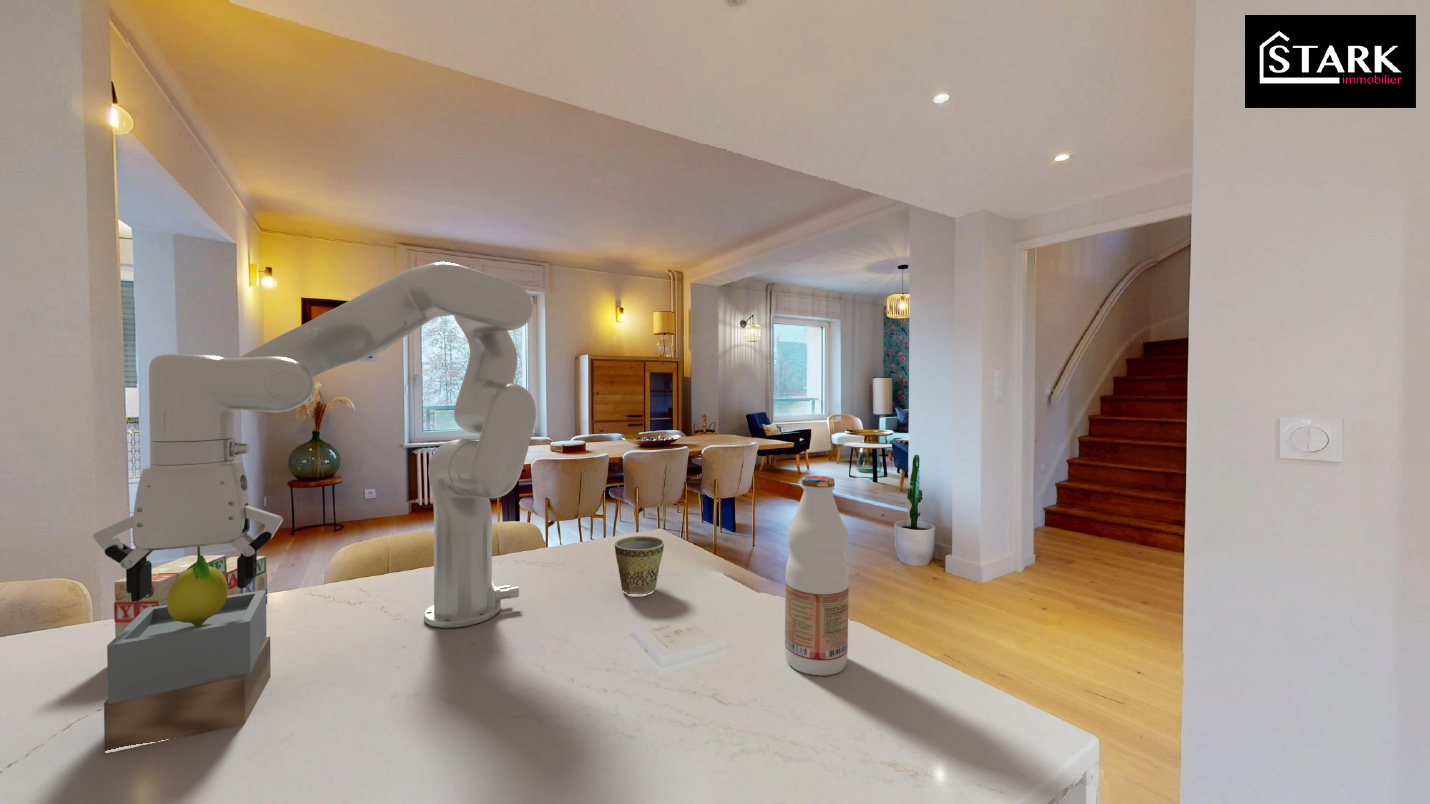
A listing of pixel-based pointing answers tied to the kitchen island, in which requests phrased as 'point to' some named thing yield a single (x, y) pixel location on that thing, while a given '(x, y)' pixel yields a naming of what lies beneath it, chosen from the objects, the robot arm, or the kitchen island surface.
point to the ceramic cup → (639, 563)
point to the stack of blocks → (165, 578)
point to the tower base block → (187, 708)
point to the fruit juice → (817, 583)
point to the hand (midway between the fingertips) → (195, 590)
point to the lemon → (197, 593)
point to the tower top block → (185, 648)
